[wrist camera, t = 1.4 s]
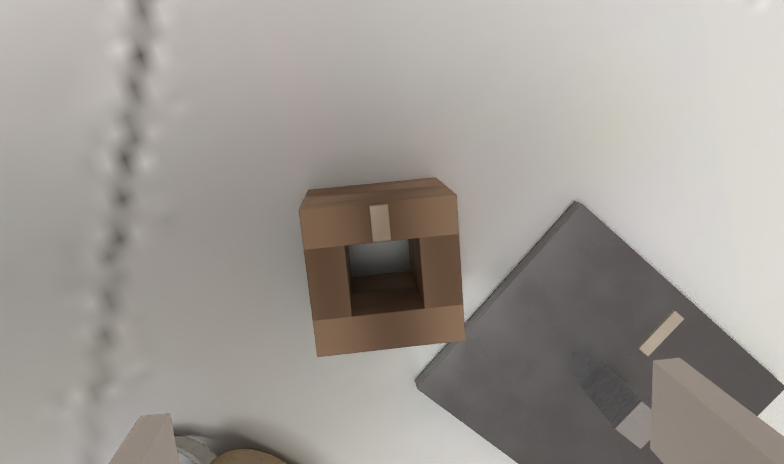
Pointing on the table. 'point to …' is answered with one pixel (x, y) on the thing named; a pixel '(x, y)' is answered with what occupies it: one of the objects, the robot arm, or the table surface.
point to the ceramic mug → (205, 460)
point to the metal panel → (582, 352)
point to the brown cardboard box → (386, 291)
